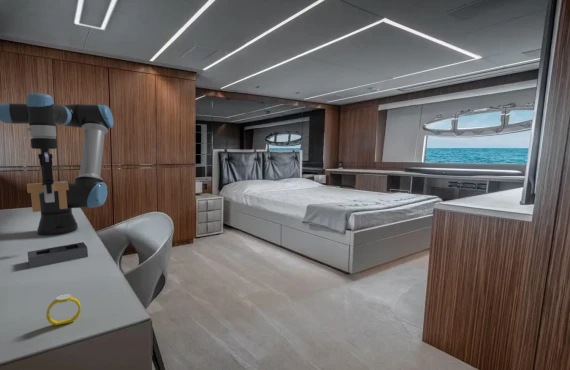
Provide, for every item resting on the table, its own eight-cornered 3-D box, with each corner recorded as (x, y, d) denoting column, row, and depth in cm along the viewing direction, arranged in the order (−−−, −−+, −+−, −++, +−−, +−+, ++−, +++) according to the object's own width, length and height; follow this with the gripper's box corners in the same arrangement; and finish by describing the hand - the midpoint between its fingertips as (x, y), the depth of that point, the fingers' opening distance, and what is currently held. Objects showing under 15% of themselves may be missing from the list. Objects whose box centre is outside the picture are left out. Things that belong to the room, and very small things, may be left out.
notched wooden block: (29, 212, 109) (26, 184, 108) (29, 211, 111) (26, 183, 110) (70, 208, 117) (68, 182, 115) (69, 207, 119) (67, 181, 118)
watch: (47, 330, 64) (44, 303, 63) (48, 324, 66) (45, 297, 66) (81, 321, 67) (79, 295, 66) (81, 315, 69) (79, 290, 69)
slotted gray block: (29, 268, 98) (28, 258, 97) (28, 261, 104) (27, 251, 103) (88, 256, 108) (87, 247, 108) (84, 251, 114) (83, 242, 114)
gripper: (29, 138, 114) (35, 200, 117) (31, 136, 102) (38, 205, 105) (54, 138, 119) (59, 198, 122) (58, 137, 107) (64, 203, 110)
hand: (49, 201), depth 113 cm, fingers closed on notched wooden block, 3 cm apart
